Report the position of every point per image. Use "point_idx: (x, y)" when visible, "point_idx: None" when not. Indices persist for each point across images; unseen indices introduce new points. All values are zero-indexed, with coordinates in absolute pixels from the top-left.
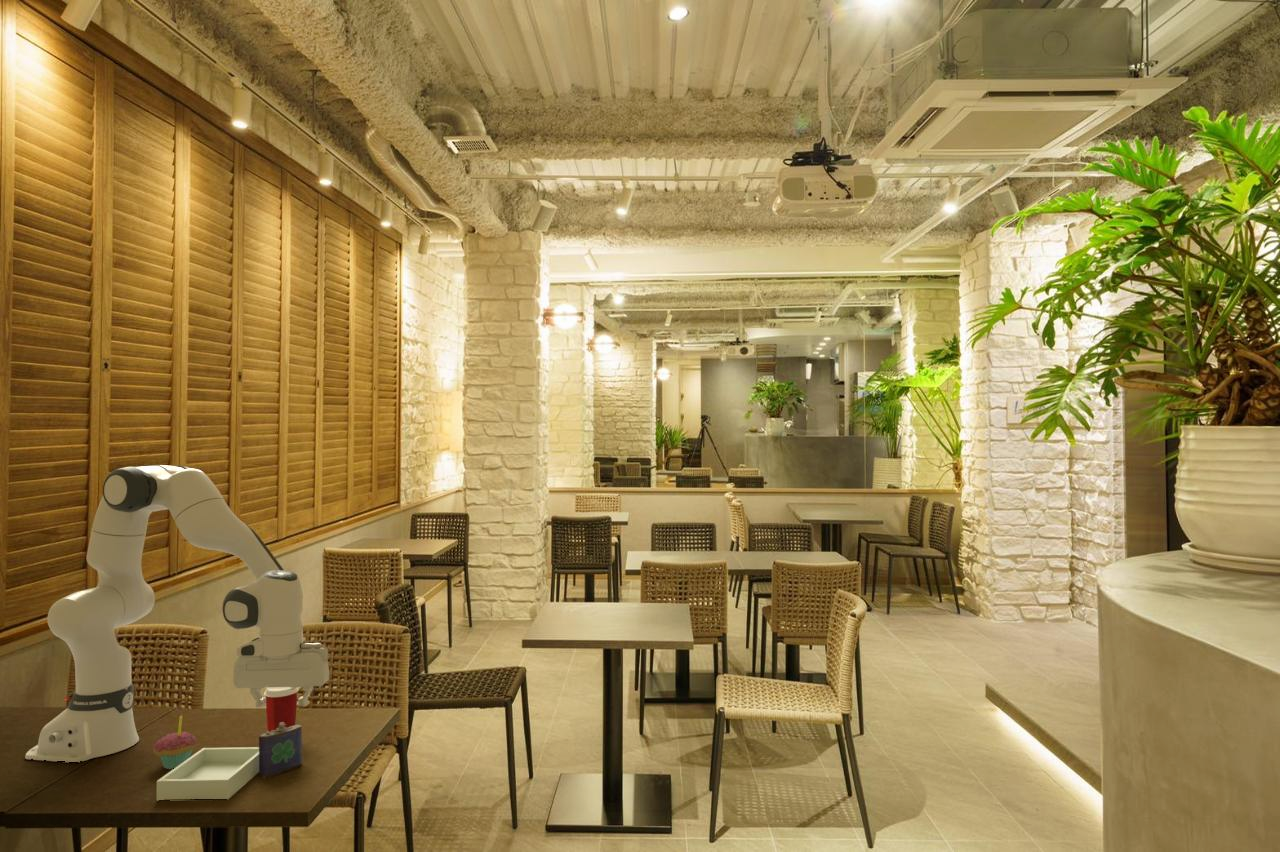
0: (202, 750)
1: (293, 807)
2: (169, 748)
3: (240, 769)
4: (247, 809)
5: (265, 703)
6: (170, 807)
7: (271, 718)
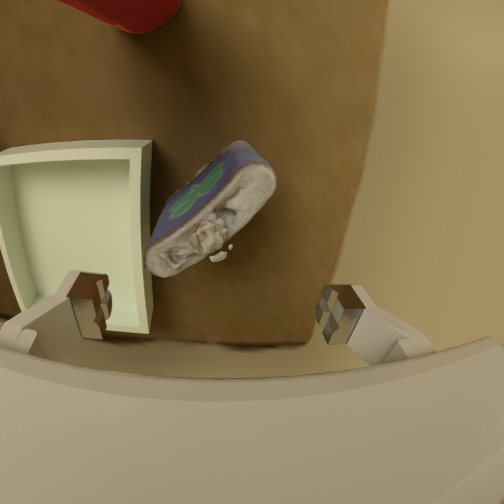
0: None
1: (285, 333)
2: None
3: (144, 292)
4: (210, 336)
5: (104, 281)
6: None
7: (93, 14)
